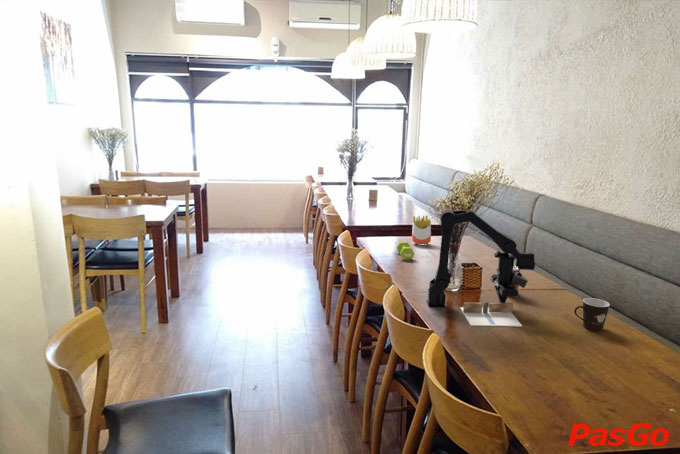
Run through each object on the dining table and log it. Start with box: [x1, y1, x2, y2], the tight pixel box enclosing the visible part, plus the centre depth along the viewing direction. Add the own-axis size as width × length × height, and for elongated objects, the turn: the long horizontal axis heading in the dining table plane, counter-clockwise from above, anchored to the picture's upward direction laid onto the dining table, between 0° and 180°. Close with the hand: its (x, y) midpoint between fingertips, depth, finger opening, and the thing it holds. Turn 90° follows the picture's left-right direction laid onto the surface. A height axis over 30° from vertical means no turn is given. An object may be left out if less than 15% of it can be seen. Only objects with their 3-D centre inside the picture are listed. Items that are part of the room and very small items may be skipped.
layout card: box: [459, 306, 523, 328], centre depth 181 cm, size 19×17×1 cm
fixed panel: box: [463, 301, 489, 314], centre depth 183 cm, size 9×2×5 cm, turn 88°
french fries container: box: [411, 215, 432, 245], centre depth 286 cm, size 5×11×18 cm, turn 91°
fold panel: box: [488, 302, 514, 314], centre depth 183 cm, size 9×1×4 cm, turn 88°
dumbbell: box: [396, 240, 415, 261], centre depth 262 cm, size 16×8×7 cm, turn 1°
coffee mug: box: [573, 297, 611, 333], centre depth 171 cm, size 12×9×10 cm
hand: (502, 305), depth 187 cm, fingers closed
